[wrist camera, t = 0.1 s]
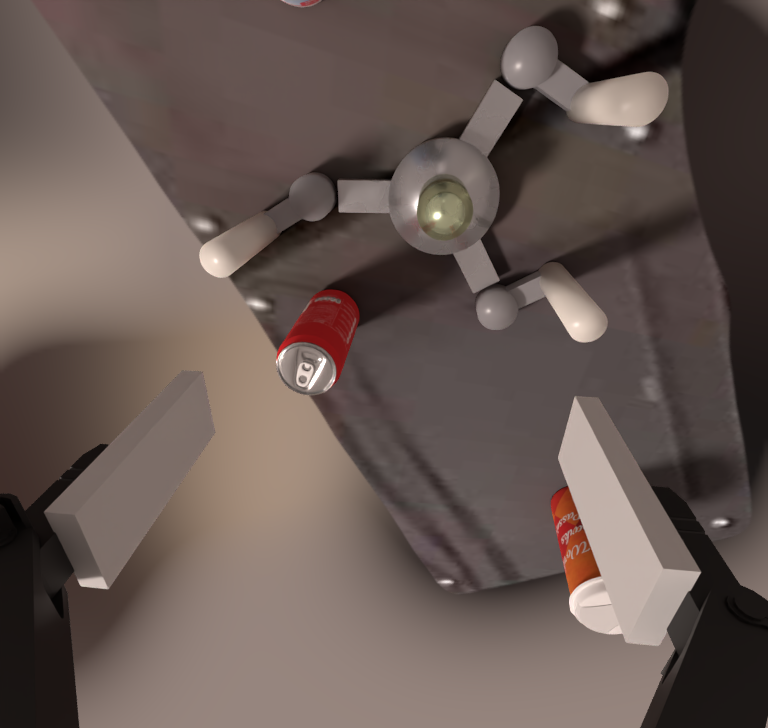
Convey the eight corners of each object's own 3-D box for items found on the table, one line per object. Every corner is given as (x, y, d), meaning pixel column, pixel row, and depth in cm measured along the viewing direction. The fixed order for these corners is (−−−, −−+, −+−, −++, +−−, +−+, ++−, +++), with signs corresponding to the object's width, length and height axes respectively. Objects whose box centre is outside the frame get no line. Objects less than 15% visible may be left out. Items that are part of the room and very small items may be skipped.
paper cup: (588, 468, 51) (637, 577, 39) (619, 507, 54) (674, 622, 42) (528, 495, 54) (556, 606, 42) (560, 532, 57) (595, 646, 45)
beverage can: (368, 296, 44) (348, 354, 33) (351, 340, 46) (328, 406, 36) (317, 277, 43) (281, 329, 33) (304, 323, 46) (266, 384, 35)
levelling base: (335, 81, 35) (310, 73, 28) (523, 80, 34) (547, 71, 27) (345, 285, 43) (327, 319, 36) (496, 289, 42) (509, 325, 35)
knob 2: (484, 325, 44) (499, 385, 34) (468, 294, 42) (479, 348, 33) (571, 285, 41) (614, 338, 31) (557, 251, 40) (598, 295, 30)
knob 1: (490, 72, 34) (513, 55, 24) (520, 20, 32) (559, -21, 22) (579, 136, 35) (635, 144, 26) (613, 89, 33) (686, 80, 24)
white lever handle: (322, 163, 38) (284, 180, 28) (344, 202, 39) (316, 231, 30) (245, 214, 41) (187, 246, 31) (268, 249, 42) (220, 289, 32)
